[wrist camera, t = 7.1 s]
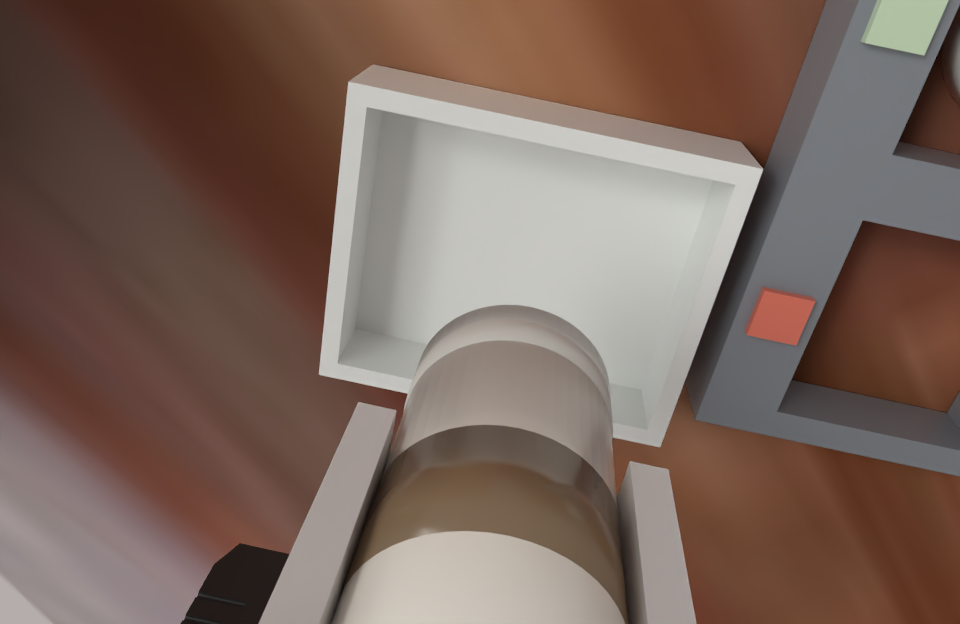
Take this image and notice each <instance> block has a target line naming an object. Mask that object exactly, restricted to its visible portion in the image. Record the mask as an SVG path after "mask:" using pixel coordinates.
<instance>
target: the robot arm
mask: <svg viewBox="0 0 960 624" xmlns="http://www.w3.org/2000/svg"><path fill="white" fill-rule="evenodd" d="M396 411H397V410H393V409H388V408H384V407H379V406H374V405H370V404H365V403H361V402H358V404H357V406H356V408H355V410H354V413H353V415H352V417H351V419H350V422H349V424H348V426H347V428H346V430H345V433H344V435H343V437H342V439H341V441H340V444H339V446H338V448H337V450H336V453H335V455H334V457H333V459H332V461H331V464H330V466H329V468H328V470H327V473H326V475H325V477H324V479H323V481H322V484H321V486H320V488H319V490H318V492H317V495H316V497H315V499H314V501H313V504H312V506H311V508H310V510H309V512H308V515H307V517H306V519H305V521H304V524H303V526H302V528H301V530H300V532H299V535H298V537H297V539H296V541H295V544H294V546H293V548H292V550H291V552H290V554H286V553H282V552H277V551H272V550H268V549H263V548H259V547H254V546H250V545H245V544H239V545H237V546H236V547H235V548H234V549H232V550H231V551H230V552H229V553H228V554H226V555H225V556H224V557H223V558H221V559H220V560H219V561H218V562H217V563H215V564H214V566H213V567H212V569H211V571H210V573H209V574H208V576H207V578H206V580H205V581H204V583H203V585H202V587H201V589H200V590H199V593H198V596H197V598H196V597H195V599H194V601H193V603H192V605H191V606H190V608H189V610H188V612H187V613H186V617H185V619H184V621H182V622H181V624H331V622H332V619H333V616H334V613H335V610H336V607H337V605H338V602H339V597H340V593H341V590H342V587H343V584H344V581H345V579H346V576H347V573H348V570H349V567H350V564H351V561H352V558H353V556H354V553H355V550H356V547H357V544H358V541H359V538H360V535H361V532H362V530H363V527H364V524H365V521H366V518H367V515H368V512H369V509H370V507H371V504H372V501H373V498H374V495H375V492H376V489H377V486H378V484H379V482H380V479H381V477H382V474H383V471H384V468H385V466H386V463H387V460H388V457H389V454H390V447H391V441H392V435H393V429H394V423H395V417H396ZM617 509H618V513H619V519H620V531H621V542H622V554H623V566H624V578H625V589H626V601H627V613H628V624H696V619H695V613H694V608H693V602H692V597H691V591H690V586H689V580H688V575H687V569H686V564H685V558H684V553H683V547H682V542H681V536H680V531H679V525H678V520H677V514H676V509H675V503H674V498H673V492H672V487H671V481H670V476H669V470H668V469H664V468H660V467H655V466H651V465H646V464H641V463H637V462H632V461H630V462H629V465H628V468H627V471H626V473H625V476H624V479H623V482H622V485H621V488H620V490H619V493H618V496H617Z"/></svg>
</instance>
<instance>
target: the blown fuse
mask: <svg viewBox="0 0 960 624" xmlns="http://www.w3.org/2000/svg"><path fill="white" fill-rule="evenodd" d="M612 439H613V421H612V409H611V398H610V387H609V378H608V374H607V370H606V367H605V365H604V362H603V360H602V358H601V356H600V354H599V352H598V351H597V349H596V348H595V346H594V345H593V344H592V343H591V341H590V340H589V339H588V338H587V337H586V336H585V335H584V334H583V333H582V332H581V331H580V330H579V329H577V328H576V327H575V326H573V325H572V324H571V323H569V322H568V321H566V320H564V319H562V318H560V317H559V316H557V315H554V314H552V313H549V312H547V311H544V310H541V309H537V308H533V307H528V306H521V305H495V306H489V307H484V308H479V309H476V310H473V311H470V312H467V313H465V314H463V315H461V316H459V317H457V318H455V319H454V320H452V321H451V322H449V323H448V324H446V325H445V326H444V327H443V328H442V329H440V330H439V331H438V332H437V333H436V334H435V336H434V337H433V338H432V339H431V340H430V341H429V343H428V345H427V346H426V348H425V350H424V351H423V354H422V356H421V358H420V361H419V363H418V366H417V369H416V372H415V375H414V378H413V381H412V383H411V386H410V389H409V392H408V395H407V398H406V402H405V406H404V413H403V416H402V419H401V422H400V425H399V428H398V431H397V434H396V437H395V439H394V442H393V445H392V448H391V451H390V454H389V457H388V460H387V463H386V466H385V468H384V471H383V474H382V477H381V479H380V482H379V484H378V486H377V489H376V492H375V495H374V498H373V501H372V504H371V507H370V509H369V512H368V515H367V518H366V521H365V524H364V527H363V530H362V532H361V535H360V538H359V541H358V544H357V547H356V550H355V553H354V556H353V558H352V561H351V564H350V567H349V570H348V573H347V576H346V579H345V581H344V584H343V587H342V590H341V593H340V597H339V602H338V605H337V607H336V610H335V613H334V616H333V619H332V622H331V624H628V613H627V601H626V589H625V578H624V566H623V554H622V542H621V531H620V519H619V513H618V509H617V497H616V485H615V473H614V461H613V449H612Z"/></svg>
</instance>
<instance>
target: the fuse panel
mask: <svg viewBox="0 0 960 624" xmlns="http://www.w3.org/2000/svg"><path fill="white" fill-rule="evenodd" d="M959 5H960V0H827V1H826V3H825V6H824V9H823V11H822V14H821V17H820V19H819V22H818V25H817V27H816V30H815V33H814V36H813V38H812V41H811V44H810V46H809V49H808V52H807V54H806V57H805V60H804V62H803V65H802V68H801V71H800V73H799V76H798V79H797V81H796V84H795V87H794V89H793V92H792V95H791V97H790V100H789V103H788V106H787V108H786V111H785V114H784V116H783V119H782V122H781V124H780V127H779V130H778V132H777V135H776V138H775V141H774V143H773V146H772V149H771V151H770V154H769V157H768V159H767V162H766V165H765V167H764V170H763V173H762V176H761V178H760V181H759V184H758V186H757V189H756V192H755V194H754V197H753V200H752V202H751V205H750V208H749V211H748V213H747V216H746V219H745V221H744V224H743V227H742V229H741V232H740V235H739V237H738V240H737V243H736V246H735V248H734V251H733V254H732V256H731V259H730V262H729V264H728V267H727V270H726V272H725V275H724V278H723V281H722V283H721V286H720V289H719V291H718V294H717V297H716V299H715V302H714V305H713V307H712V310H711V313H710V316H709V318H708V321H707V324H706V326H705V329H704V332H703V334H702V337H701V340H700V342H699V345H698V348H697V351H696V353H695V356H694V359H693V361H692V364H691V367H690V369H689V372H688V375H687V377H686V380H685V383H686V387H687V391H688V395H689V399H690V402H691V406H692V410H693V414H694V418H695V420H697V421H702V422H707V423H711V424H716V425H721V426H725V427H730V428H735V429H739V430H744V431H749V432H753V433H758V434H763V435H768V436H772V437H777V438H782V439H786V440H791V441H796V442H800V443H805V444H810V445H815V446H819V447H824V448H829V449H833V450H838V451H843V452H847V453H852V454H857V455H861V456H866V457H871V458H876V459H880V460H885V461H890V462H894V463H899V464H904V465H908V466H913V467H918V468H923V469H927V470H932V471H937V472H941V473H946V474H951V475H955V476H960V391H959V393H958V395H957V397H956V398H955V400H954V402H953V404H952V405H951V407H950V409H949V410H948V412H947V413H945V412H940V411H936V410H931V409H926V408H921V407H917V406H912V405H907V404H903V403H898V402H893V401H889V400H884V399H879V398H874V397H870V396H865V395H860V394H856V393H851V392H846V391H841V390H837V389H832V388H827V387H823V386H818V385H813V384H809V383H804V382H799V381H794V380H791V379H792V377H793V375H794V373H795V370H796V368H797V366H798V364H799V361H800V359H801V357H802V355H803V353H804V350H805V348H806V346H807V344H808V341H809V339H810V337H811V335H812V332H813V330H814V328H815V326H816V324H817V321H818V319H819V317H820V315H821V312H822V310H823V308H824V306H825V304H826V301H827V299H828V297H829V295H830V292H831V290H832V288H833V286H834V284H835V281H836V279H837V277H838V275H839V272H840V270H841V268H842V266H843V264H844V261H845V259H846V257H847V255H848V252H849V250H850V248H851V246H852V243H853V241H854V239H855V237H856V235H857V232H858V230H859V228H860V226H861V223H862V221H863V220H864V221H869V222H873V223H878V224H883V225H887V226H892V227H897V228H902V229H906V230H911V231H916V232H921V233H925V234H930V235H935V236H940V237H944V238H949V239H954V240H959V241H960V154H955V153H950V152H946V151H941V150H936V149H931V148H927V147H922V146H917V145H912V144H908V143H903V142H898V141H899V139H900V137H901V134H902V132H903V130H904V128H905V126H906V123H907V121H908V119H909V117H910V114H911V112H912V110H913V108H914V105H915V103H916V101H917V99H918V97H919V94H920V92H921V90H922V88H923V85H924V83H925V81H926V79H927V77H928V74H929V72H930V70H931V68H932V65H933V63H934V61H935V59H936V57H937V54H938V52H939V50H940V48H941V45H942V43H943V41H944V39H945V36H946V34H947V32H948V30H949V28H950V25H951V23H952V21H953V19H954V16H955V14H956V12H957V10H958V8H959Z"/></svg>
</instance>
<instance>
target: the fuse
mask: <svg viewBox="0 0 960 624" xmlns="http://www.w3.org/2000/svg"><path fill="white" fill-rule="evenodd" d="M942 71H943V77H944V80H945V83H946V87H947V88H948V90H949V92H950V94H951V96H952V97H953V98H954V100H955V101H956V102H957V103H958V104H959V105H960V8H959V9H958V11H957V12H956V14H955V16H954V19H953V21H952V23H951V25H950V28H949V30H948V32H947V34H946V36H945V40H944V44H943V50H942Z"/></svg>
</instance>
